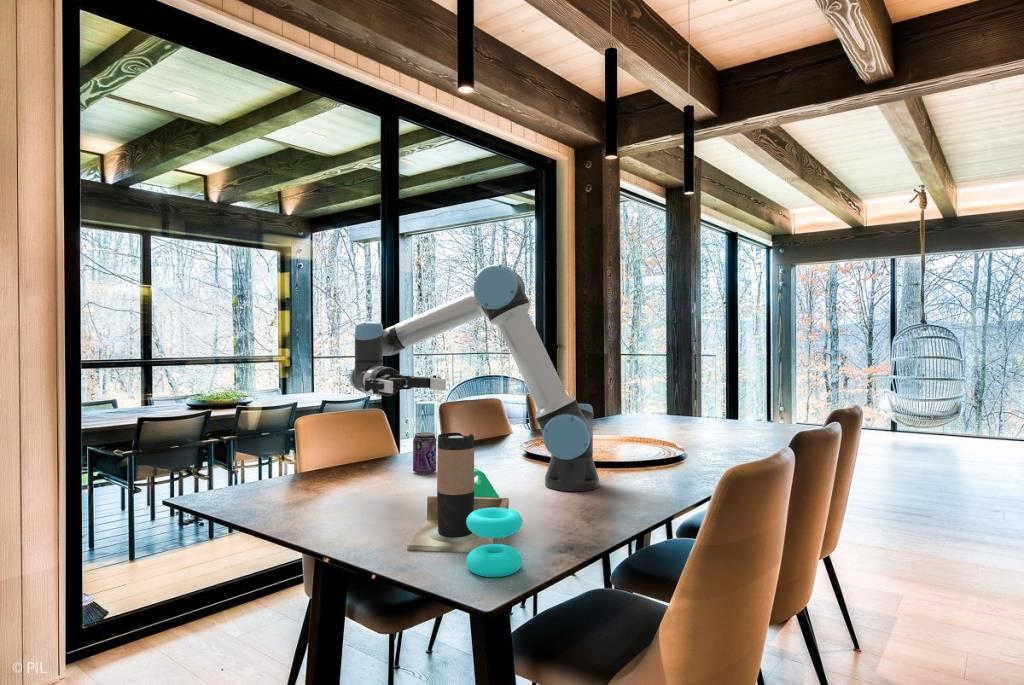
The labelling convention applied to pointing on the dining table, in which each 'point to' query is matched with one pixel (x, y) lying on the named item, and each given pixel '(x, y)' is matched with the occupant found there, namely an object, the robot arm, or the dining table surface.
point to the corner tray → (433, 541)
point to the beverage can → (424, 453)
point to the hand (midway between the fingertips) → (418, 386)
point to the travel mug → (455, 483)
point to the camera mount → (483, 486)
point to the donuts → (494, 556)
